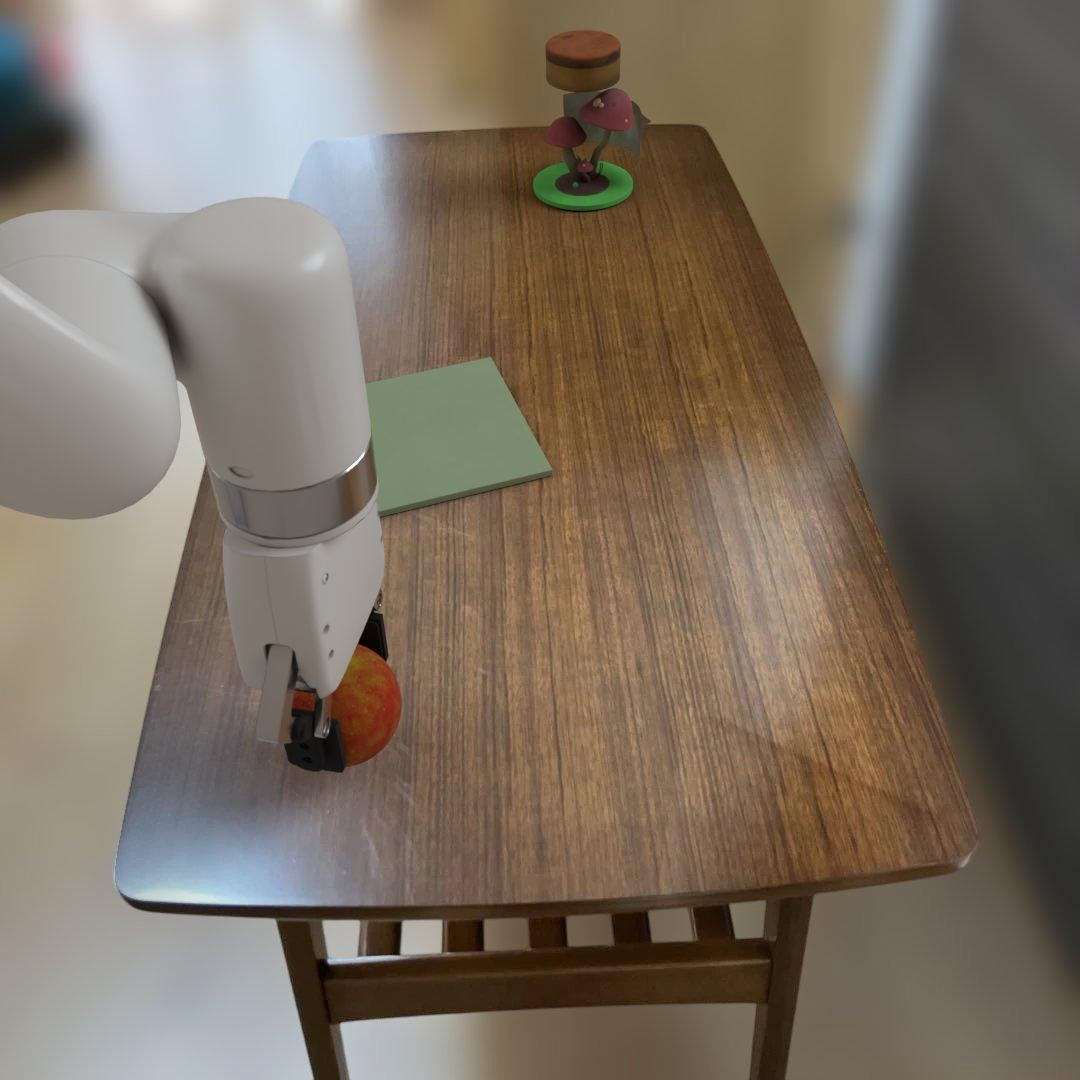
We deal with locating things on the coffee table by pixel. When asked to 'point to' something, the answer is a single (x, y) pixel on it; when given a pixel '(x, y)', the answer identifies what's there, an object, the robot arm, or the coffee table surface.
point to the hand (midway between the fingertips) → (340, 708)
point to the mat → (448, 436)
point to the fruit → (362, 705)
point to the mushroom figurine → (588, 122)
